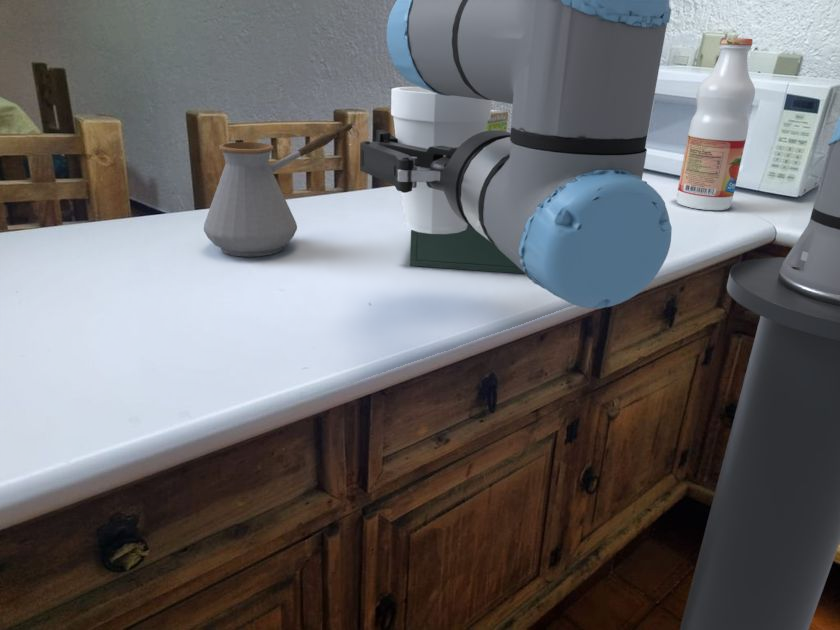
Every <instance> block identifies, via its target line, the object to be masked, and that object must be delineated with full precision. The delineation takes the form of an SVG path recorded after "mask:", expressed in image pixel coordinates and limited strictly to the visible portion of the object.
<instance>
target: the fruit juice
mask: <svg viewBox="0 0 840 630" xmlns="http://www.w3.org/2000/svg"><path fill="white" fill-rule="evenodd" d="M752 46H753V38H747V37H745V38H744V37H721V39H720V41H719V49H720V51H719V56H718V58H717V61H716V63H715V64H714V67H713V68H712V70H711V72H710V73H709V74H708V76H707V77H706V78H705V79H704V80H702V82H701V83H700V84H699V86H698V88H697V92H696V95H695V98H696V110H695V113H694V115H693V116H692V119H691V121H690V125H689V128H688V133H687V137H686V138H687V139H686V144H685V149H684V154H683V158H682V164H681V170H680V175H679V181H678V185H677V190H676V199H675V201H676V203H677V204H678V205H681V206H683V207H688V208H691V209H696V210H704V211H725V210H728V209H730V208H731V205H732V202H733V200H734V194H735V190H736V185H737V180H738V177H739V173H740V167H741V163H742V158H743V155H744V149H745V145H746V142H747V141H746V140H747V137H748V131H749V119H748V115H749V111H750V109H751V107H752V105H753V103H754V100H755V95H756V90H755V89H756V88H755V84H754V83H753V81H752V79H751V76H750V74H749V68H748V65H749V64H748V55H749V51H750V50H751V49H752Z"/></svg>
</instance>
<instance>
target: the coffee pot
mask: <svg viewBox="0 0 840 630" xmlns="http://www.w3.org/2000/svg"><path fill="white" fill-rule="evenodd" d="M352 129H354V130H355V132H356V136H355V135H353V133H352V132H351V130H352ZM344 133H349V134H350V136H351V137H352V138H354V139H358V138H359V137H360V133H359V130H358V128H357V127H356V126H355V125H354V124H353V123H352V122H351V123H346V124H343V126H342V127H336V128H335V129H334V131H331V132H329V133H325V134H323V135H320V136H319V137H317V138H315V139H314V140H312V141H311V142H308V143H307V144H306V145H304V146H303V147H301V148H299V149H298V150H297V151H294V152H292V153H290V154H289V155H287V156H285V157H283V158H281V159H279V160H277V161H274V162H273V163H271V164H270V155H271V152H272V151H274V146H273V144H271V143H263V142H251V141H249V142H248V141H242V142H241V141H240V142H239V141H237V142H228V143H227V142H226V143H221V144H220V145H218V150H219V151H222V154H223V158H224V161H225V165H224V167H223V169H222V173H221V176H220V179H219V181H218V185H217V187H216V190H215V192H214V195H213V198H212V201H211V204H210V207H209V209H208V213H207V215H206V218H205V221H204V223H203V232H204V234H205V236H206V238H208V240H209V241H210V242H211V243H212V244H213V245H214V246H216V247H218V248H220V251H221V252H222V253H225V254H227V255H231V256H236V257H251V258H252V257H263V256H264V257H265V256H269V255H273V254H276V253H279V252H280V251H282V250H283V248H284V246H285V245H287V244H288V243H289V242H290V241H291V240H292V239H293V238H294V236H295V235H296V232H297V229H298V225H297V222H296V219H295V217H294V215H293V213H292V210H291V208H290V207H289V204H288V202H287V200H286V198H285V196H284V194H283V192H282V189H281V187H280V185H279V183H278V181H277V179H276V176H275V174H274V172H276V171H278V170H280V169H281V168H283V167H285V166H286V165H288V164H290V163H292V162H293V161H295V160H297V159H298V158H300V157H304V156H306V155H308V154H310V153H312V152H314V151H316V150H318V149H321V148H322V147H325V146H327V145H328V144H330V143H331V142H332V141H333V140H334V139H336V138H342V136H343V134H344Z"/></svg>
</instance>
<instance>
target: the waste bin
mask: <svg viewBox="0 0 840 630" xmlns="http://www.w3.org/2000/svg"><path fill="white" fill-rule="evenodd" d="M409 248H410V250H409V257H410V258H409V266H411V267H424V268H425V267H426V268H436V269H437V268H438V269H439V268H440V269H451V270H469V271H482V272H496V273H510V274H525V275H526V273H525V272H524V271H522V270H521V269H520V268H519V267H518V266H517V265H516V264H515V263H513V262H512V261H511V260H510V259H509V258H508V257H507V256H506V255H504V254H503V253H502V252H501V251H500V250H499V249H498V248H496V247H495V246H494V245H493V243H491V242H490V241H489V240H487V239H486V238H485V237H484V236H482V235H481V234H480V233H478V232H477V231H476V230H474V229H473V228H472V227H470V226H469V225H468V224H467V228H466V230H464V231H462V232H459V233H452V234H429V233H422V232H417V231H414V230H411V229H410V247H409Z"/></svg>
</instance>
